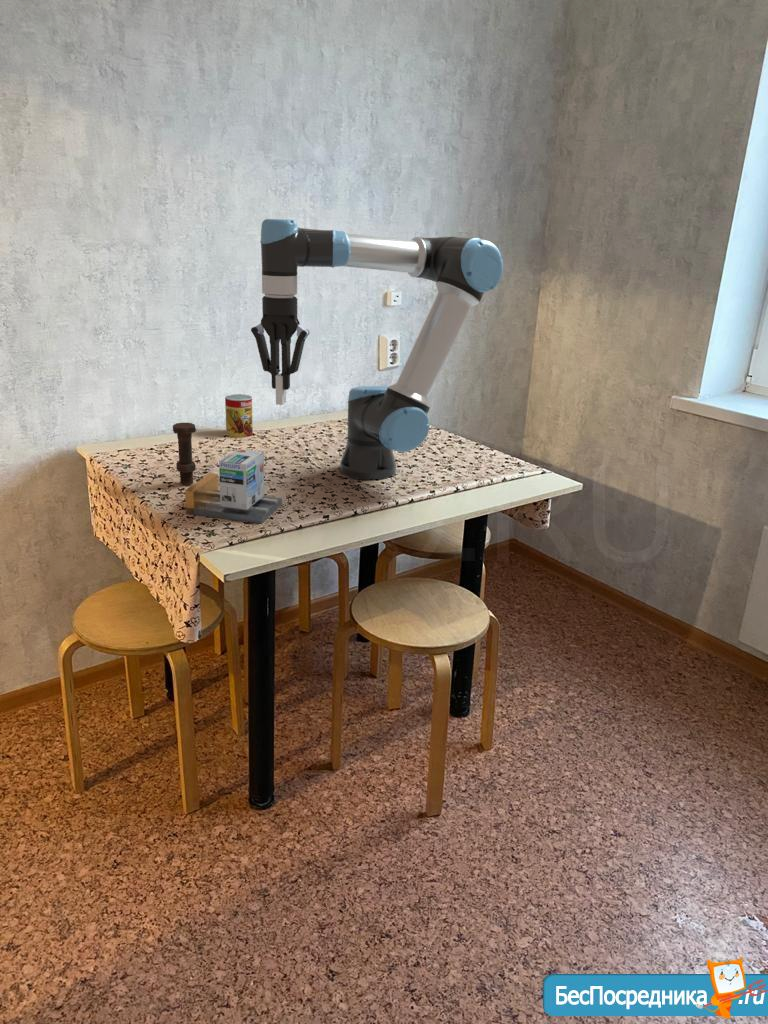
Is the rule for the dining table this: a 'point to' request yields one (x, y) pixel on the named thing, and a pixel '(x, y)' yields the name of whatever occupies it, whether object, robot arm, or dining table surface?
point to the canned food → (238, 415)
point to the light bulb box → (241, 479)
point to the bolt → (185, 451)
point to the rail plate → (207, 503)
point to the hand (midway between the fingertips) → (281, 403)
